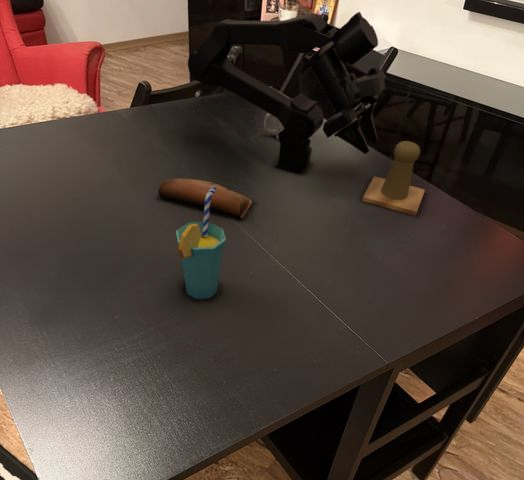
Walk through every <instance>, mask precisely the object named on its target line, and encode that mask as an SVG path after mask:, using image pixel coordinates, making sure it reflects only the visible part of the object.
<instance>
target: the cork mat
mask: <svg viewBox="0 0 524 480" xmlns="http://www.w3.org/2000/svg"><path fill="white" fill-rule="evenodd" d="M385 179H386V178H382V177H380V176H379V177H378V176H373V178H372V180H371V182H370V183H369V185H368V187H367V189H366V190H365V191H364V194H363V195H362V199H361V202H364V203H367V204H371V205H375V206H379V207H382V208H386V209H390V210H393V211H397V212H401V213H404V214H408V215H410V216H411V215H412V216H415V217H416V216H417V214H418V211H419V208H420V206H421V203H422V199H423V197H424V194H425V192H426V189H424V188H420V187H417V186H413V185H410V186H409V192H408V197H407V198H406V199H403V200H395V199H390V198H388V197H386V196H384V195H383V194H382V193H381V188H382V186H383V184H384V182H385Z"/></svg>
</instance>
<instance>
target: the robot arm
mask: <svg viewBox="0 0 524 480" xmlns="http://www.w3.org/2000/svg"><path fill="white" fill-rule="evenodd" d="M330 43H333V44H332V45H331V46H330V47H329V48H327V49H325V48H324V47H326V46H327V45H329V44H330ZM233 45H259V46H261V45H262V46H263V45H264V46H267V45H268V46H278V47H281V48H283V49H286V50H287V51H291V52H294V53H300V54H307V53H310V52H311V51H313V50H314V49H318V50H316V51H315V52H314V53H313V54H312V55H304V56H302V58H301V59H302V62H301V65H300V66H301V67H300V73H301V74H304V73H306V72H307V71H309V70H310V69H311V71H312V73H313V74H314V77H315V78H316V80H317V82H318V83H319V86H320V87H321V89H322V91H323V92H324V93H322V94H321V97H322V99H323V100H326V99H328V102H329V103H330V105H331V107H332V108H333V110H334V111H332V113H331V115H332V116H331V117H329V118H328V119H327V120H326V121H325V119H324V112H323V109H322V108H321V107H320V106H319V105H318V104H317V103H318V101H317V100H312V99H310V98H309V97H308V96H306V95H305V94H303V93H299V94H298V95H297V96H295V97H294V98H290V97H287V96H286V95H284V94H282V93H281V92H280V91H277V90H275V89H273V88H272V87H271V86H268V85H266V84H265V83H263V82H262V81H259V80H258V79H256V78H254V77H253V76H251V75H250V74H248V73H246V72H244V71H243V70H240V69H239V68H237V67H236V66H235V65H234V64H233V63H232V61H231V59H230V58H229V57H228V54H229V53H230V51H231V49H232V46H233ZM378 46H379V39H378V35H377V33H376V30H375V28H374V27H373V25H372V24H370V22H369V21H368V20H367V19H366V18H365V17H363V15H362V13H361V12H360V11H358V12H356V13H355V14H353V15H352V16H351V17H350V18H349V20H347V22H346V23H344V24H343V25H342V26H341V27H337V26H335V25H333V24H330V23H327V22H326V21H325V19H324V18H323V17H322V15H320V14H319V13H316V12H313V13H308V14H303V15H300V16H295V17H292V18H288V19H284V20H233V19H230V18H228V19H225V20H223V21H219V22H218V23H216V24H215V26H214V27H213V29H212V31H211V32H210V34H209V35H208V36H207V37H206V39H205V40H204V41H203V42H202V43H201V45H200V46H199V47H198V48H197V49H196V51H194V52H192V53H191V54H190V55H189V57H188V59H187V68H188V72H189V75H190V77H191V78H192V79H193V80H194V81H196V82H198V83H201V84H204V85H206V86H207V85H208V86H213V87H219V88H220V87H221V88H224V89H226V90H228V91H229V92H231V93H233V94H235V95H236V96H238V97H240V98H242V99H243V100H245V101H247V102H249V103H250V104H252V105H254V106H255V107H257V108H259V109H261V110H262V111H264V112H266V113H267V114H268V113H269V114H271V115H273V116H275V117H276V119H278V120H279V121H280V122H281V124H282V125H283V127H284V129H283V130H282V131H281V132H279V133H278V136H279V139H278V140H279V144H280V145H279V153H278V161H277V162H276V163H275V167H276V168H278V169H282V170H285V171H289V172H292V173H296V174H302V173H303V172H304V171H305V169H307V168H308V167H309V165H310V162H311V156H312V150H313V148H312V146H311V143H312V140H311V137H313V135H314V134H315V133H316V132H317V131H319V129H321V127H322V126H323V127H322V132H323V133H324V134H325V136H326V137H327V139H328V138H330V137H333V135H334V137H335V138H336V137H338V138H339V139H341V140H342V141H344V142H346V143H348V144H349V145H351V146H352V147H354V148H355V149H357V150H358V151H360V152H361V153H363V154H364V155H366V154H368V153H370V148H369V145H368V143H367V140H368V141H369V142H370V143H371V144H372V145H375V144H377V143H378V142H379V139H378V134H377V130H376V125H375V119H374V111H375V108H376V106H377V102H376V100H378V98H380V95H381V94H382V92H383V91H385V90H386V82H385V80H386V78H387V75H386V74H385V73H384V70H381V69H380V67H379V66H378V65H377V66H372V67H370V68H368V71H367V75H363V76H361V77H357V76H356V74H355V73H353V72H351V73H349V72H348V70H347V68H346V67H345V65H346V64H349V65H351V66H353V65H354V64H356V63H358V62H359V61H360V60H362V59H363V58H364V57H365V56H366V55H367V54H369V53H370V52H371V51H373V50H374V49H376V48H377V47H378ZM372 102H374V103H372ZM371 103H372V104H371ZM275 117H274V118H275ZM324 121H325V122H324ZM366 139H367V140H366Z"/></svg>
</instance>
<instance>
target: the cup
mask: <svg viewBox="0 0 524 480" xmlns="http://www.w3.org/2000/svg"><path fill="white" fill-rule="evenodd" d="M215 191H216V188H215V187H212V188H211V189H210V190H209V191H208V192H207V194H206V199H205V206H204V209H203V221H188V222H187V223H185V224H184V225H183V226H181V227H179V228H178V229H176V230H175V233H176V240H177V245H178V246H177V250H178V253H179V256H180V257H181V263H182V264H181V265H182V269H183V277H184V285H185V290H186V295H188V296H190V297H191V298H193V299H195V300H205V299H208V300H209V299H211V298H212V297H213V296H214V295H215V294H217V292H218V286H219V278H220V272H221V265H222V257H223V251H224V247H225V246H226V243H227V238H226V235H225V231H224V228H223V227H220V226H218V225H216V224H214V223H212V222H209V221H210V212H211V211H210V210H211V208H210V201H211V197H212V195H213V194H214V193H215Z"/></svg>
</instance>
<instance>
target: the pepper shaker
mask: <svg viewBox="0 0 524 480" xmlns="http://www.w3.org/2000/svg"><path fill="white" fill-rule="evenodd" d="M420 154H421V148H420V146H419V145H418V144H417V143H415V142H413V141H410V140H402V141H399V142H398V143H397V144H396V146H395V147H394V151H393V156H394V159H393V162H392V163H391V166H390V168H389V170H388V173H387V175H386V177H385V178H384V179H385V182H384V184H383V186H382V188H381V193H382V194H383V195H384V196H386V197H388V198H390V199H395V200H403V199H406V198H407V197H408V192H409V186H411V180H412V176H413V169H414V164H415V162H416V161H418V159H419V157H420Z"/></svg>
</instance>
